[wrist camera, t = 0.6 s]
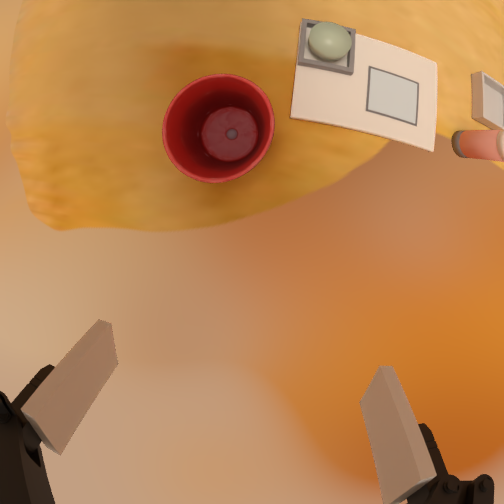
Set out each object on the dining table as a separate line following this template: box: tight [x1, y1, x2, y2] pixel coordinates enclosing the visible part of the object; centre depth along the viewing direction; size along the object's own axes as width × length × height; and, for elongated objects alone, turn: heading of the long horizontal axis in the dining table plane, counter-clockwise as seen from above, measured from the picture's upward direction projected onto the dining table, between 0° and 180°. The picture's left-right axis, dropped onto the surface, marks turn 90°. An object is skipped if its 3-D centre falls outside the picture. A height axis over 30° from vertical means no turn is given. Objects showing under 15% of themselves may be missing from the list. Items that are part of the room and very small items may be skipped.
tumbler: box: [452, 129, 504, 162], centre depth 24 cm, size 4×4×12 cm
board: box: [290, 18, 437, 152], centre depth 28 cm, size 14×20×3 cm
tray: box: [471, 71, 504, 130], centre depth 25 cm, size 8×8×3 cm
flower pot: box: [162, 74, 275, 183], centre depth 28 cm, size 11×11×10 cm
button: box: [308, 22, 352, 61], centre depth 25 cm, size 5×5×2 cm
